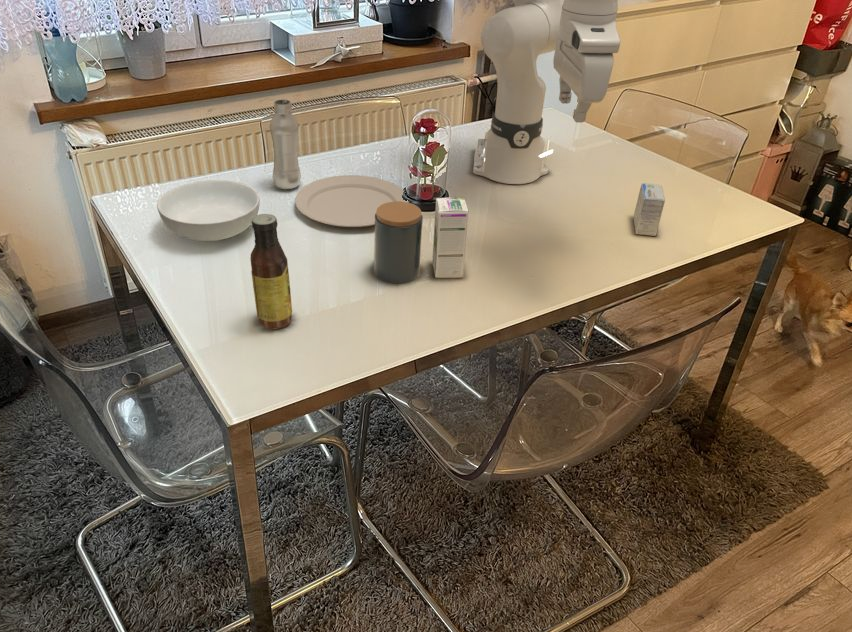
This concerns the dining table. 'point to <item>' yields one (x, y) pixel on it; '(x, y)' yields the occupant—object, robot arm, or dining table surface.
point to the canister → (397, 242)
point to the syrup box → (450, 237)
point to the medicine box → (648, 209)
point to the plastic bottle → (285, 146)
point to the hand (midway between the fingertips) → (571, 111)
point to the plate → (346, 199)
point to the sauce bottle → (270, 274)
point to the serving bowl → (209, 209)
